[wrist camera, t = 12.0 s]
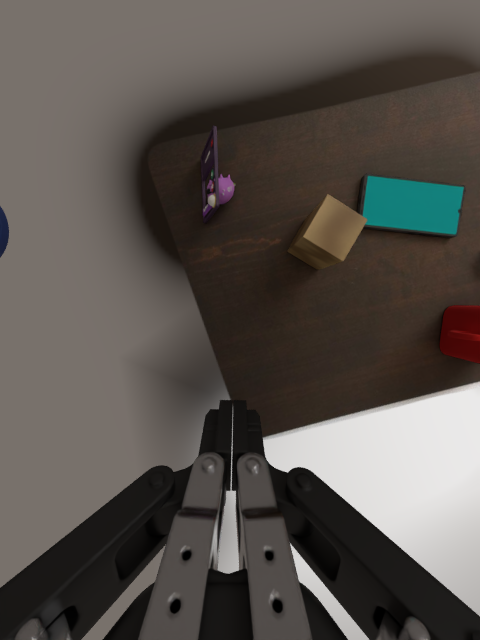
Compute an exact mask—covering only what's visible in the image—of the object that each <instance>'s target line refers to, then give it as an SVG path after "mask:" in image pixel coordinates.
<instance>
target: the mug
mask: <svg viewBox="0 0 480 640" xmlns="http://www.w3.org/2000/svg"><path fill="white" fill-rule="evenodd" d="M440 350H441V352H442V353H443V354H445V355H448V356H452V357H456V358H460V359H464V360H468V361H472V362H476V363H480V306H463V305H454V306H450V307H448V308H447V309H446V310H445V312H444V315H443V322H442V330H441V338H440Z"/></svg>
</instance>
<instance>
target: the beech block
mask: <svg viewBox="0 0 480 640" xmlns="http://www.w3.org/2000/svg"><path fill="white" fill-rule="evenodd" d="M367 220H368V219H366V218H365V217H363V216H361V215H360V214H358V213H357V212H355V211H354V210H352V209H350V208H349V207H347V206H346V205H344V204H343V203H341V202H339V201H338V200H336V199H335V198H333V197H332V196H330V195H328V194H327V196H326V197H325V198H324V199H323V200H322V201H321V202H320V203H319V204H318V205H317V207H316V208H315V209H314V210H313V211H312V212H311V213H310V214H309V215H308V217H307V218H306V219H305V221H304V222H303V224H302V226H301V227H300V229H299V231H298V233H297V234H296V236H295V238H294V240H293V241H292V243H291V245H290V246H289V248H288V250H287V252H289V253H290V254H292V255H294V256H295V257H297V258H299V259H300V260H302V261H304V262H305V263H307V264H309V265H310V266H312V267H314V268H315V269H317V270H320V269H323V268H326V267H328V266H331V265H334V264H337V263H340V262H343V261H344V259H345V257H346V256H347V254H348V252H349V250H350V249H351V247H352V245H353V244H354V242H355V240H356V239H357V237H358V235H359V234H360V232H361V230H362V229H363V227H364V225H365V224H366V222H367Z"/></svg>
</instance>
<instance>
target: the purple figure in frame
mask: <svg viewBox="0 0 480 640" xmlns="http://www.w3.org/2000/svg"><path fill="white" fill-rule="evenodd" d="M213 164H214V168H212V166H213ZM211 168H212V171H211V180H209V182H210V183H209V184H208V186H207V194H208V204H207V205H206V197H205V180H206V178H207V176H208V174H209V172H210V170H211ZM214 177H215V179H214ZM201 178H202V201H203V223H207V222H208V221H209V219H210V218H211V217H212V215H213V214H214V213H215V212H216V210H217V209H218V208H219V204H224V203H226V202H228V201H229V200H230V199H231V198H232V196H233V193H234V186H235V183H233V182H232V181H231V179H230V175H228V177H227V178H223V177H222V174H221V175H220V178H218V153H217V128H216V126H213V127H212V129H211V132H210V135H209V137H208V140H207V143H206V145H205V148H204V150H203V153H202V156H201ZM212 207H213V209H212V210H211V211H210V213H209V214H208V216H207V217H206V214H207V213H208V212H209V210H210V209H211V208H212Z"/></svg>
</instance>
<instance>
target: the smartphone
mask: <svg viewBox="0 0 480 640" xmlns="http://www.w3.org/2000/svg"><path fill="white" fill-rule="evenodd" d="M464 194H465V186H464V185H458V184H449V183H441V182H433V181H424V180H416V179H408V178H399V177H391V176H383V175H374V174H365V175H364V176H363V177H362V179H361V187H360V195H359V202H358V210H357V213H358V214H360V215H361V216H363V217H365V218H366V219H368V220H367V222H366V224H365V225H364V227H363V228H365V229H374V230H384V231H393V232H402V233H408V234H419V235H427V236H436V237H447V238H452V237H456V236H457V235H458V230H459V224H460V218H461V213H462V206H463V200H464Z"/></svg>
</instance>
